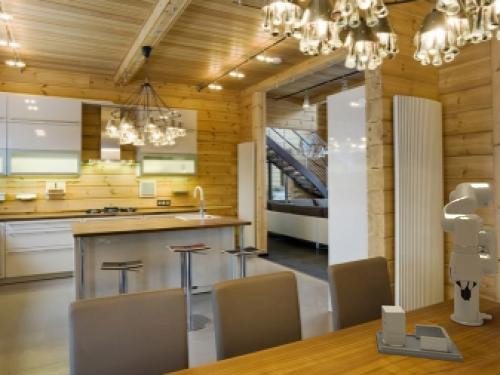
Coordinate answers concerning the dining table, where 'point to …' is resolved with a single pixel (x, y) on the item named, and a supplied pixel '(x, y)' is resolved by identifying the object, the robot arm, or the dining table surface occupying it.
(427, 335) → the collar
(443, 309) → the dining table surface
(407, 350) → the base plate
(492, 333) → the dining table surface
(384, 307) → the supplement box
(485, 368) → the dining table surface
